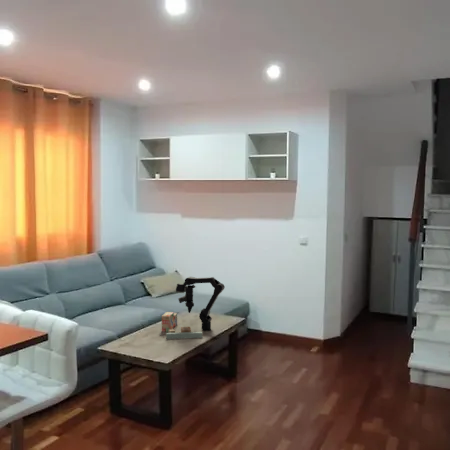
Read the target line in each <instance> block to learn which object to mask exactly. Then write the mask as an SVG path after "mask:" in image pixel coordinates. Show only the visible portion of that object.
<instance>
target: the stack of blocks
mask: <svg viewBox="0 0 450 450" xmlns="http://www.w3.org/2000/svg"><path fill="white" fill-rule="evenodd" d="M176 326H178V312H174V311H166V312H164V314H162V315H161V332H166V333H168V330H171V329H174V328H175V327H176Z"/></svg>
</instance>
